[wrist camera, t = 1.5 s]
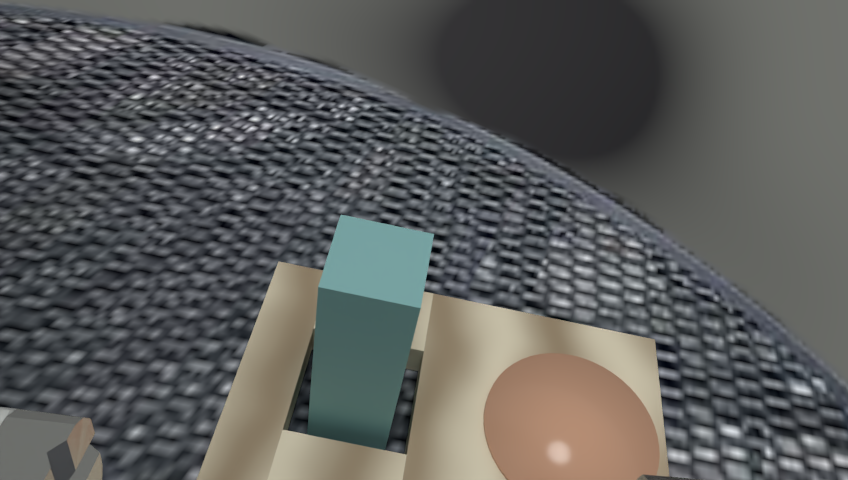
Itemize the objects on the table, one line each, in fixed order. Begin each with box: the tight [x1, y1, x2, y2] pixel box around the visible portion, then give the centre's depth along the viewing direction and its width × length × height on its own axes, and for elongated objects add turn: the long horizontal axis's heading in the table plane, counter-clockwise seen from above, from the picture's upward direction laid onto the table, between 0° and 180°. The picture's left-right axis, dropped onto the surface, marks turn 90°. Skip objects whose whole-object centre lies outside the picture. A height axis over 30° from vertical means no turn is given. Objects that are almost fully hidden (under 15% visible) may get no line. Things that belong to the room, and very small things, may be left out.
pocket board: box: [197, 262, 669, 480], centre depth 37 cm, size 22×14×2 cm, turn 81°
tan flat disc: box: [483, 353, 660, 480], centre depth 36 cm, size 9×9×1 cm
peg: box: [307, 215, 434, 450], centre depth 33 cm, size 4×4×12 cm
